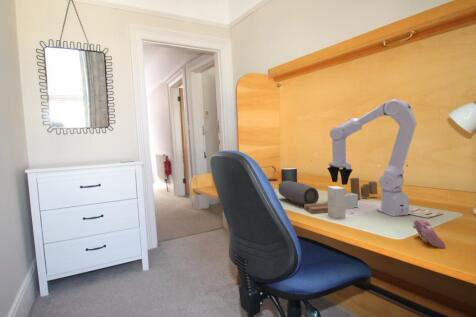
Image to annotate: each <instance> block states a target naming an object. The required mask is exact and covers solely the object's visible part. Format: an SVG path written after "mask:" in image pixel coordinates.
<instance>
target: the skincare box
mask: <svg viewBox="0 0 476 317" xmlns="http://www.w3.org/2000/svg"><path fill="white" fill-rule="evenodd" d="M345 194H346V188H345V187H341V186H339V185H332V186H331V185H329V186H327V203H328V213H327V215H328V216H329V217H330V218H333V219H335V220H340V219H346V214H345V213H346V209H345Z"/></svg>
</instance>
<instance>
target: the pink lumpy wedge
mask: <svg viewBox="0 0 476 317" xmlns="http://www.w3.org/2000/svg"><path fill="white" fill-rule="evenodd" d="M412 228H413V229H414V230H416V232H417V234H418V236H419V238H420V239H421V240H422V241H423V242H424V243H425V244H431V245H432V246H433V247H434V248H438V249H445V248H446V243H445V242H444V241H443V240H442V239H441V237H440V236H439V235H438V234H437V233H436V231H435V230H434V228H433V227H432V225H431V223H430V222H429V221H427V220H424V219H416V220H413V225H412Z"/></svg>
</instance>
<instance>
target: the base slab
mask: <svg viewBox="0 0 476 317" xmlns="http://www.w3.org/2000/svg"><path fill="white" fill-rule="evenodd" d="M303 207H304V210H305V211H306V212H308V213H310V214H311V215H315V214H317V215H318V214H328V202H321V203H318V202H317V203H316V204H305V205H303Z"/></svg>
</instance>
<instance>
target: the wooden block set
mask: <svg viewBox="0 0 476 317" xmlns="http://www.w3.org/2000/svg"><path fill="white" fill-rule="evenodd" d="M349 181H350V182H349V183H350V193H354V194H357V195H358V200H360V199H361V197H362V198H369V197H370V195H378V182H377V181H368V183H364V184H362V185H360V178H359V177H351V178H350V177H349Z"/></svg>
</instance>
